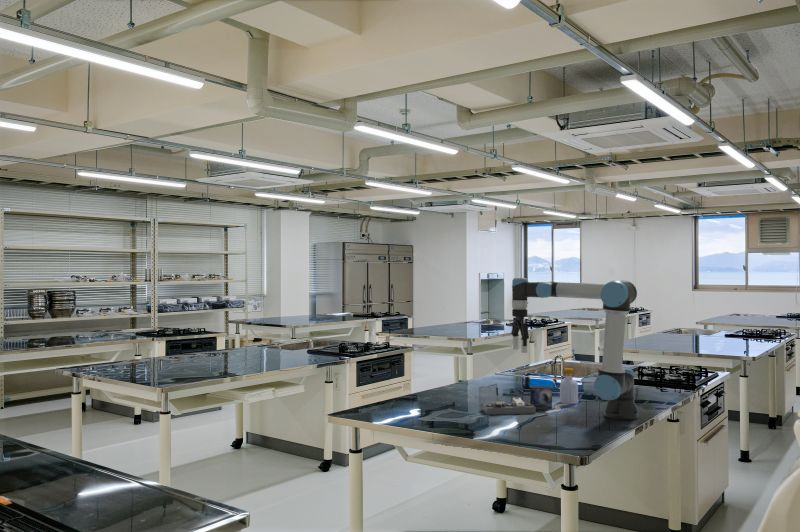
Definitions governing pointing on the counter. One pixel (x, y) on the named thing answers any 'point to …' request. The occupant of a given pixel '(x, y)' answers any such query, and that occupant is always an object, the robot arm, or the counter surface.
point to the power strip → (510, 408)
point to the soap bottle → (568, 387)
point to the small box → (541, 396)
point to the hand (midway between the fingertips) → (519, 351)
